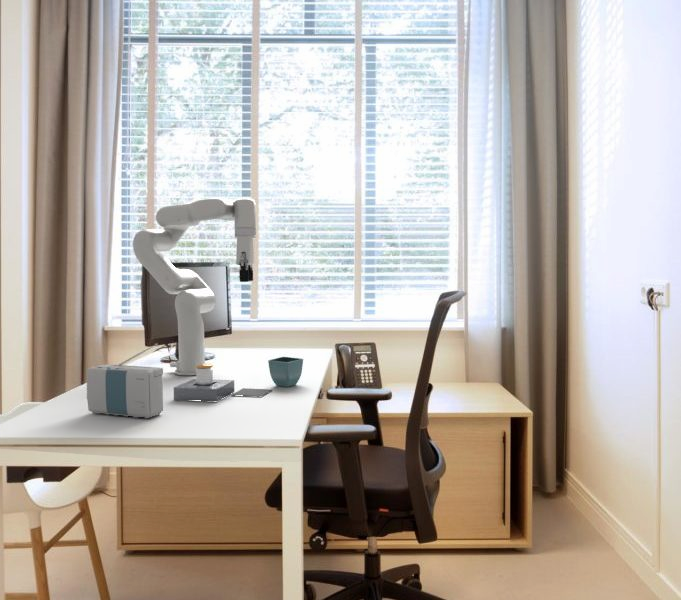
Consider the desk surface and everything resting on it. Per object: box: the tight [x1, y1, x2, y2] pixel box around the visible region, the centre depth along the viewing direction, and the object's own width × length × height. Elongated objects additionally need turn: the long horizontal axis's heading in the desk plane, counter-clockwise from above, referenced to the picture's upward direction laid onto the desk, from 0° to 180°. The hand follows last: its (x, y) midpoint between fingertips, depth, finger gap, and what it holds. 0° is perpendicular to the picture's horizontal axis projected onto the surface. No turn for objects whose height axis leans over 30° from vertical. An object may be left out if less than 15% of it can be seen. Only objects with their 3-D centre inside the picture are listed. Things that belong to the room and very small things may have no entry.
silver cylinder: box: [195, 363, 214, 386], centre depth 195 cm, size 5×5×10 cm
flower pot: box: [267, 356, 304, 388], centre depth 211 cm, size 9×9×9 cm
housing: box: [173, 378, 235, 402], centre depth 195 cm, size 14×14×4 cm
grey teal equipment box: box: [86, 342, 164, 419], centre depth 173 cm, size 21×8×20 cm, turn 69°
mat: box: [231, 387, 273, 397], centre depth 199 cm, size 10×10×1 cm
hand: (246, 281), depth 225 cm, fingers open, 9 cm apart
